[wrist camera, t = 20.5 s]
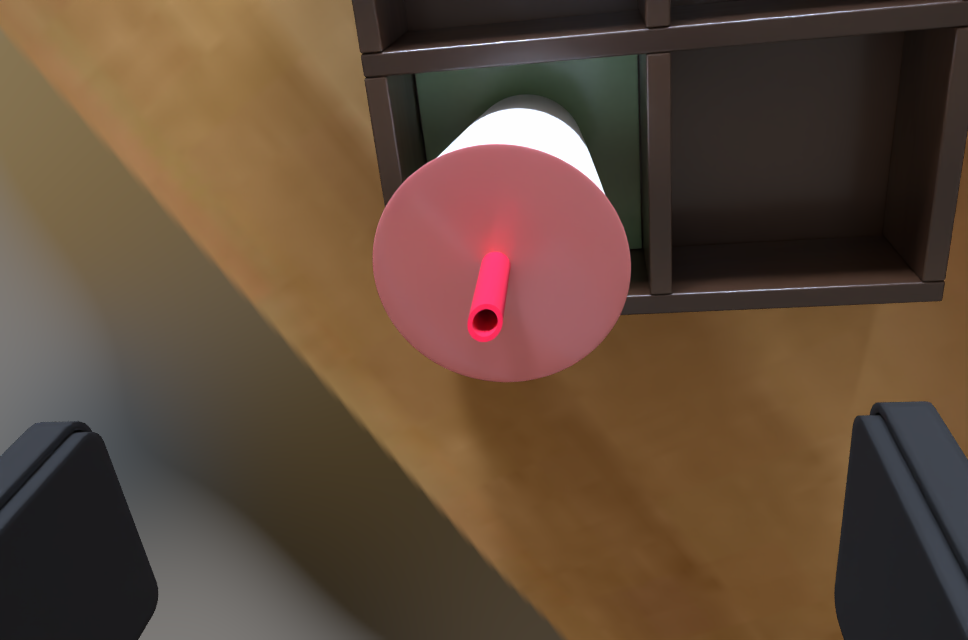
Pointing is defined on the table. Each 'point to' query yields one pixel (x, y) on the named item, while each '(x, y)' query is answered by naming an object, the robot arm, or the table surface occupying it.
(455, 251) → the cup
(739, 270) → the tray
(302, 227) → the table surface
